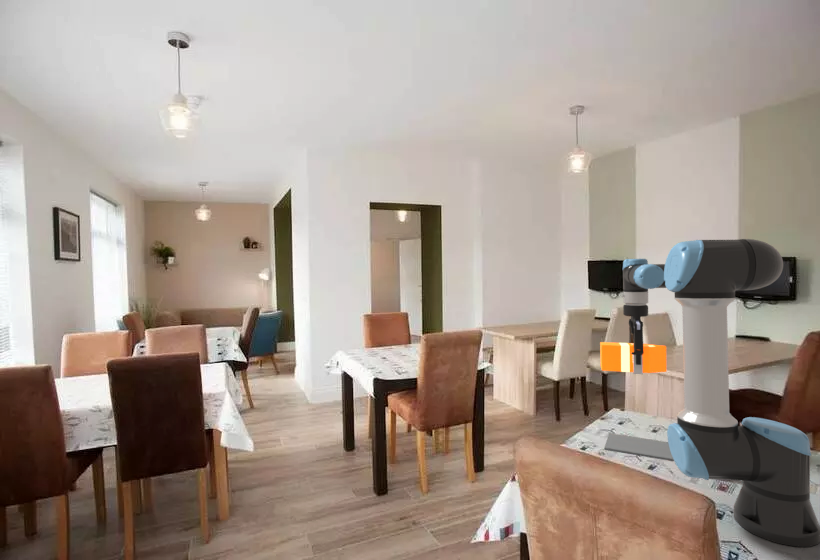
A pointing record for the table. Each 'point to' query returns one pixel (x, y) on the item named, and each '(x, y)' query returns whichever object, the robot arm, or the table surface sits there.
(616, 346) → the orange juice
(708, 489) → the table surface
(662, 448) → the mat
